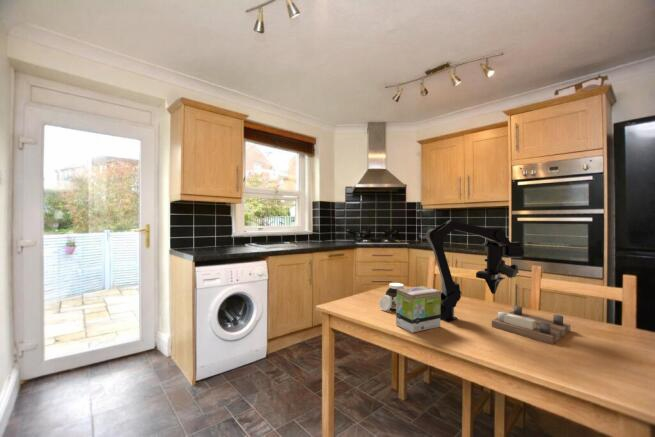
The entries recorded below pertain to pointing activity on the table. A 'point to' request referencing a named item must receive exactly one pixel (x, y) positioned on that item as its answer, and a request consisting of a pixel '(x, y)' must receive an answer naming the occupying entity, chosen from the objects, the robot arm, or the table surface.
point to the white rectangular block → (516, 320)
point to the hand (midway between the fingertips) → (493, 293)
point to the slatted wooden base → (536, 327)
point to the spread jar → (390, 297)
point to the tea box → (418, 308)
